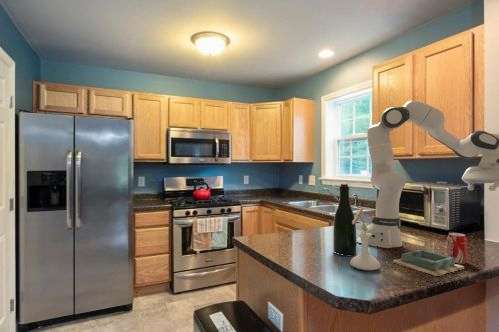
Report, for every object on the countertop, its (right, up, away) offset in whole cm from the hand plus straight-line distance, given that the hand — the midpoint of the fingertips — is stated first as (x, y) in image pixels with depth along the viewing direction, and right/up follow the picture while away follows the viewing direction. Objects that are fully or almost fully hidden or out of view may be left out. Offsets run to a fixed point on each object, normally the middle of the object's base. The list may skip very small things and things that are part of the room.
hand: (480, 189), depth 130 cm
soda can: (-16, -30, -8) cm, 35 cm away
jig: (-32, -30, -12) cm, 46 cm away
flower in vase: (-59, -31, -15) cm, 68 cm away
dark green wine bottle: (-60, -31, +6) cm, 67 cm away
